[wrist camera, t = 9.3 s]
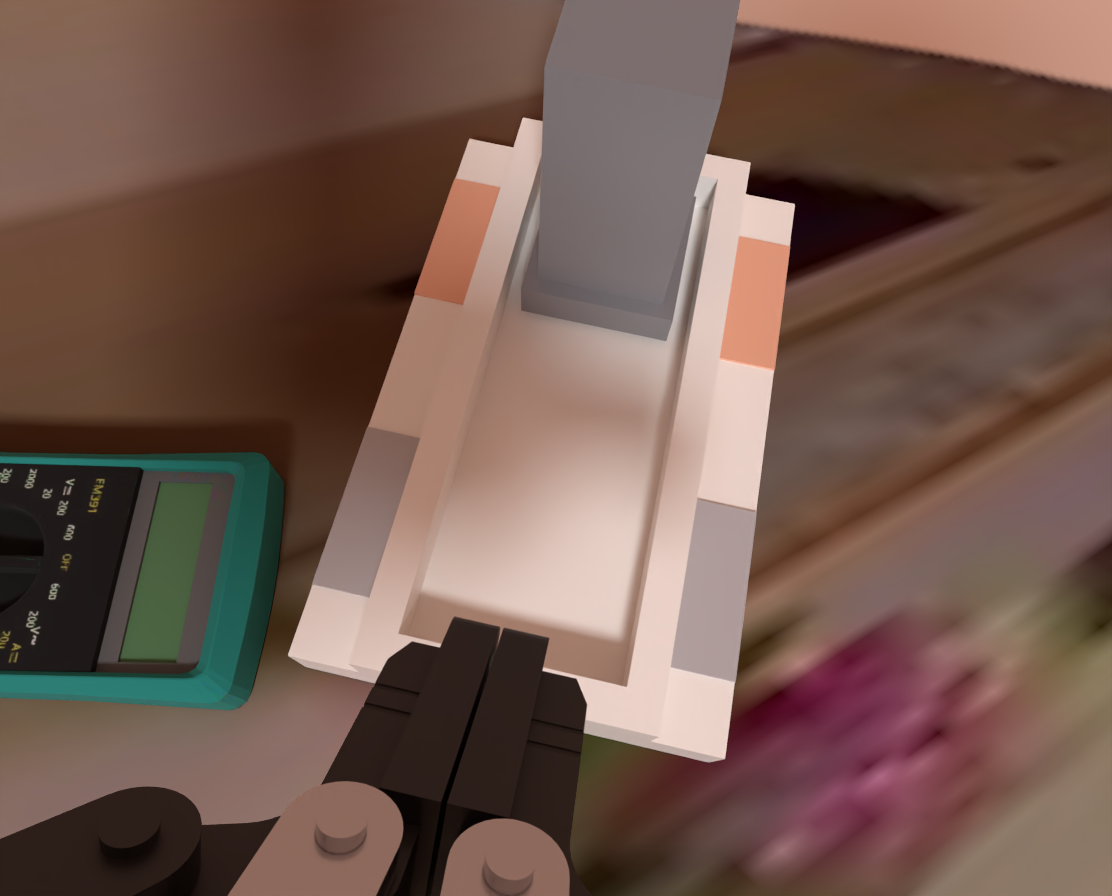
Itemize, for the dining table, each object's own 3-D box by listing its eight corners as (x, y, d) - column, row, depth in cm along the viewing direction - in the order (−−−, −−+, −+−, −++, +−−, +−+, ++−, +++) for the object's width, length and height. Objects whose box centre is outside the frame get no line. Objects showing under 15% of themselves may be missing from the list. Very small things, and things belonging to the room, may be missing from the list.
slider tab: (520, 310, 26) (522, 77, 18) (554, 193, 28) (569, -66, 20) (666, 341, 26) (736, 119, 18) (689, 220, 28) (762, -30, 20)
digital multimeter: (-168, 465, 26) (-248, 427, 23) (297, 479, 26) (271, 443, 24) (-263, 702, 23) (-367, 690, 20) (261, 713, 24) (227, 702, 21)
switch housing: (305, 667, 24) (272, 645, 20) (472, 177, 31) (466, 106, 28) (708, 762, 23) (739, 755, 20) (778, 239, 31) (808, 174, 27)
